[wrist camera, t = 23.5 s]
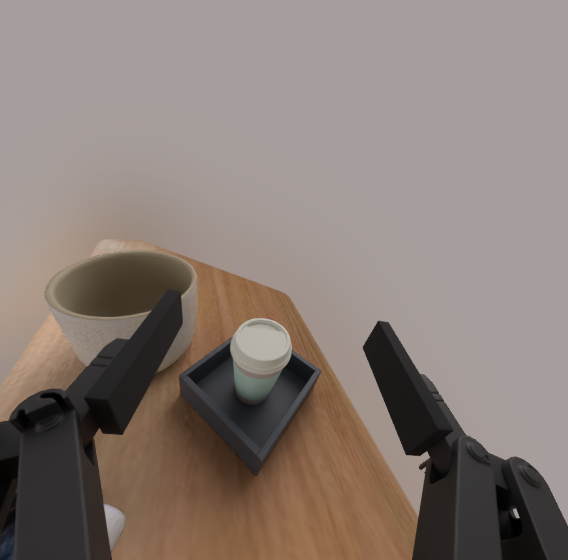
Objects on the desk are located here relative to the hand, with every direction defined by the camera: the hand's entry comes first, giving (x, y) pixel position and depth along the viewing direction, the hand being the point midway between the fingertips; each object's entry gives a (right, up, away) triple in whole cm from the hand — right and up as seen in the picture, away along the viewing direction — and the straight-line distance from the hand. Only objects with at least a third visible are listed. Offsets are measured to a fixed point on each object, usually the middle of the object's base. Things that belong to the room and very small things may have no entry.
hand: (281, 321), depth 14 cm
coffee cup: (-5, -15, +21) cm, 26 cm away
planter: (-24, -10, +24) cm, 35 cm away
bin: (-5, -16, +21) cm, 27 cm away
